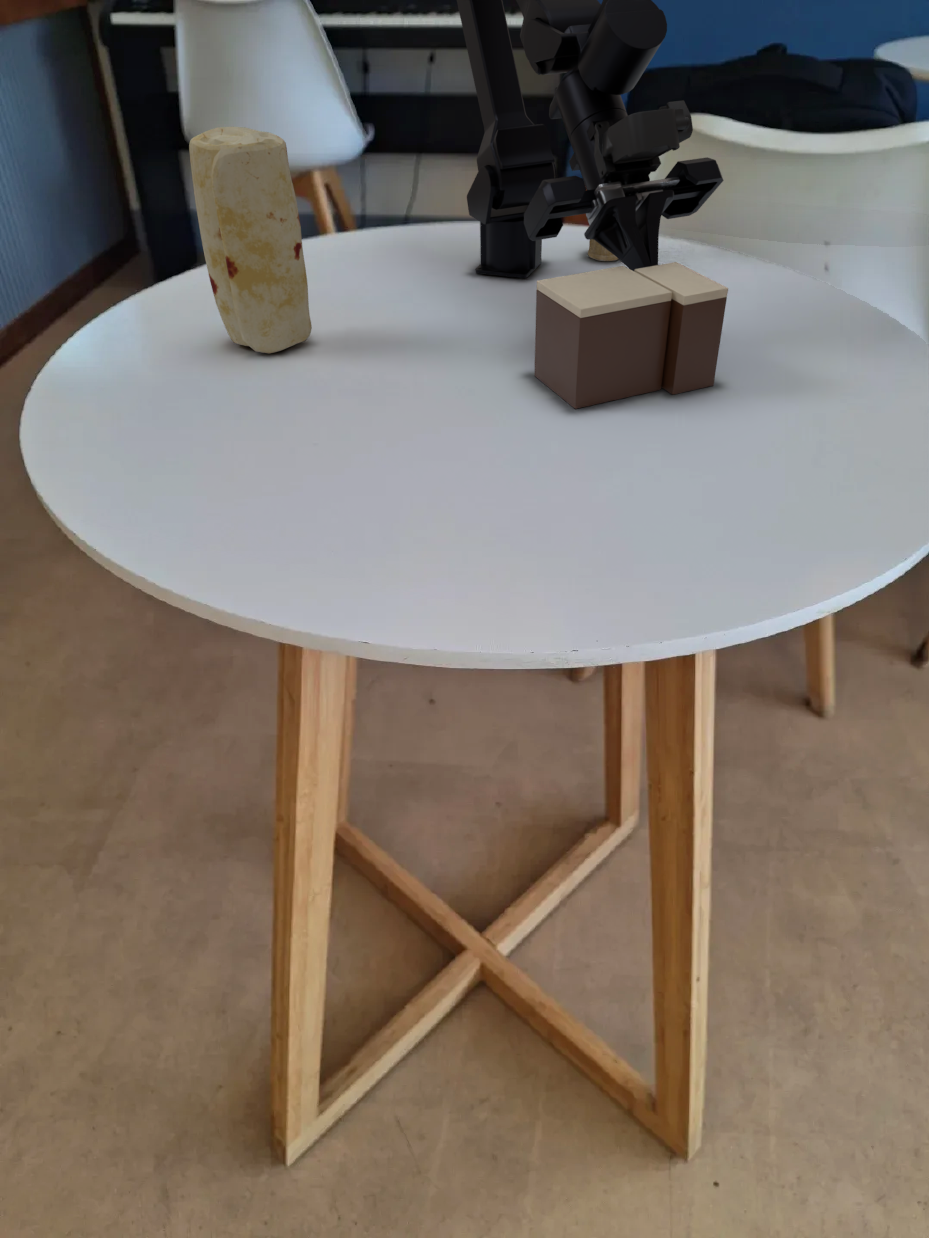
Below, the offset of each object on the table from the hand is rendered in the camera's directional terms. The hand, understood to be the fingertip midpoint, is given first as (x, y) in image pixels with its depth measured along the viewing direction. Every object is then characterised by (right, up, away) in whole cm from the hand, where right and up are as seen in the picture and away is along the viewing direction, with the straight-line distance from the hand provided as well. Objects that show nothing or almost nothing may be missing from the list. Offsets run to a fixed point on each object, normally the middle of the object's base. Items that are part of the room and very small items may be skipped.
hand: (652, 281), depth 87 cm
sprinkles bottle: (0, +14, +30) cm, 33 cm away
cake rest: (-5, -9, 0) cm, 11 cm away
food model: (-38, -3, +10) cm, 39 cm away
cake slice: (+2, -8, +2) cm, 9 cm away
